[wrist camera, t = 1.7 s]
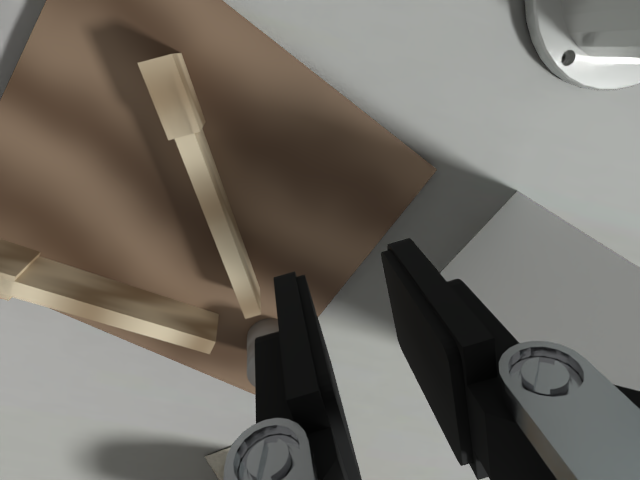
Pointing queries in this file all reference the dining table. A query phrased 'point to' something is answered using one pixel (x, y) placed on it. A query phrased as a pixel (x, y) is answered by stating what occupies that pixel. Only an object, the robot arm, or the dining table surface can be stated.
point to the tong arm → (201, 169)
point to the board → (170, 172)
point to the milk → (556, 287)
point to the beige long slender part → (114, 302)
